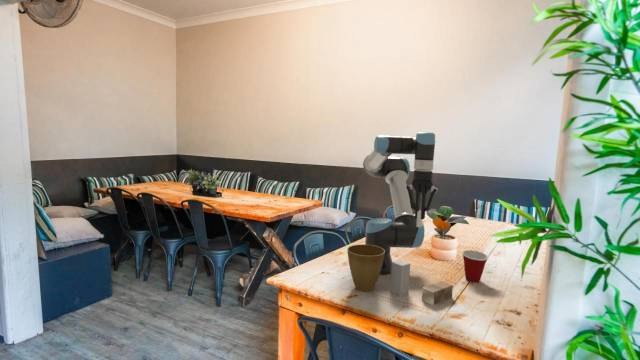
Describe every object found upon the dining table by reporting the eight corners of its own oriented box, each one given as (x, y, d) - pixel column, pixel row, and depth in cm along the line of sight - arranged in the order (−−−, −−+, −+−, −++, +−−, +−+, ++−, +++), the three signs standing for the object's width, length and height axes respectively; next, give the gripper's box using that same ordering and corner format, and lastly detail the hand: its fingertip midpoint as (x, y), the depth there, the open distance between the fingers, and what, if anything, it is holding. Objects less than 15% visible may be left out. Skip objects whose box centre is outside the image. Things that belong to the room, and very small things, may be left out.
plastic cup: (470, 286, 153) (472, 258, 152) (454, 276, 163) (456, 250, 162) (492, 284, 156) (494, 257, 155) (475, 275, 166) (477, 249, 165)
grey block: (400, 295, 141) (401, 265, 140) (390, 291, 145) (392, 262, 144) (408, 292, 144) (410, 263, 143) (398, 288, 148) (400, 259, 147)
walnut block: (433, 292, 133) (452, 285, 141) (422, 287, 137) (441, 280, 145) (432, 305, 134) (451, 297, 141) (421, 300, 138) (440, 292, 145)
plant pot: (358, 278, 157) (360, 242, 156) (389, 287, 148) (391, 249, 146) (338, 288, 146) (339, 249, 144) (370, 299, 137) (372, 258, 135)
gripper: (404, 169, 150) (401, 225, 153) (436, 172, 143) (432, 230, 146) (410, 168, 156) (407, 222, 159) (441, 171, 149) (437, 227, 152)
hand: (419, 226), depth 152 cm, fingers closed
